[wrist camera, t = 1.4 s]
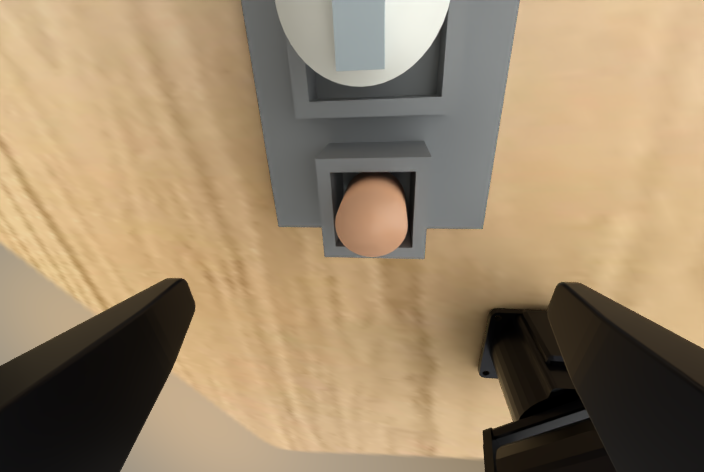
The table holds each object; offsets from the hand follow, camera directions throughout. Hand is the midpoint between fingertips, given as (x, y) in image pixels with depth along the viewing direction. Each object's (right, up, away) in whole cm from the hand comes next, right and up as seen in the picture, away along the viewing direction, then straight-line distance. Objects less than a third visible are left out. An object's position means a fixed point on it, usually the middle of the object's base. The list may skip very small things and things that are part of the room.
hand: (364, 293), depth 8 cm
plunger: (+1, +3, +8) cm, 9 cm away
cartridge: (+1, +11, +6) cm, 13 cm away
